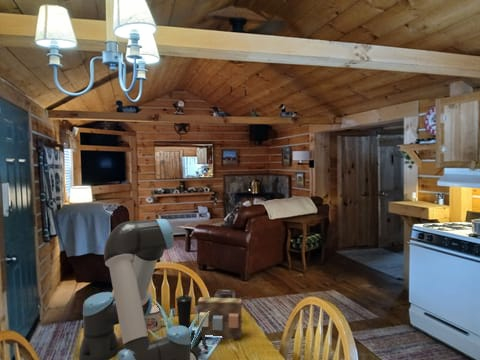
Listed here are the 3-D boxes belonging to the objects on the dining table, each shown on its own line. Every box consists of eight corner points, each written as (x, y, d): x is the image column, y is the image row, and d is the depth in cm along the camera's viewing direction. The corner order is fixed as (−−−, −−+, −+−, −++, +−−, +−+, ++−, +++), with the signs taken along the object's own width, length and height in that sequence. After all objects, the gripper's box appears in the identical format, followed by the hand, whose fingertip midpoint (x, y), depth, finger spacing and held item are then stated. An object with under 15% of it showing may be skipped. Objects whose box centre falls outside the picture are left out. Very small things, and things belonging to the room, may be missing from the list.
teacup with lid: (139, 332, 162) (139, 307, 161) (143, 323, 171) (143, 300, 170) (166, 331, 162) (166, 306, 162) (168, 323, 172) (168, 299, 171)
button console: (198, 337, 157) (198, 300, 156) (201, 331, 163) (200, 295, 162) (240, 339, 155) (240, 302, 154) (241, 332, 161) (241, 297, 161)
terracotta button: (228, 327, 152) (228, 316, 152) (230, 319, 160) (230, 308, 160) (237, 328, 152) (237, 316, 152) (239, 319, 160) (239, 309, 160)
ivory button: (198, 326, 153) (198, 315, 153) (202, 318, 161) (202, 307, 161) (208, 326, 153) (207, 315, 153) (211, 318, 161) (211, 308, 161)
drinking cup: (188, 321, 173) (188, 281, 172) (195, 327, 166) (194, 286, 165) (173, 325, 169) (173, 284, 168) (179, 332, 162) (179, 289, 161)
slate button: (212, 330, 150) (212, 318, 150) (215, 321, 158) (215, 310, 158) (221, 330, 150) (221, 318, 150) (224, 322, 158) (224, 311, 158)
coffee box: (236, 322, 172) (236, 289, 171) (233, 328, 166) (232, 294, 165) (218, 320, 174) (218, 288, 173) (214, 326, 168) (214, 293, 167)
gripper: (167, 370, 123) (184, 337, 146) (204, 372, 121) (215, 338, 145) (167, 349, 122) (184, 319, 146) (204, 350, 121) (215, 320, 145)
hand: (199, 329), depth 145 cm, fingers closed
